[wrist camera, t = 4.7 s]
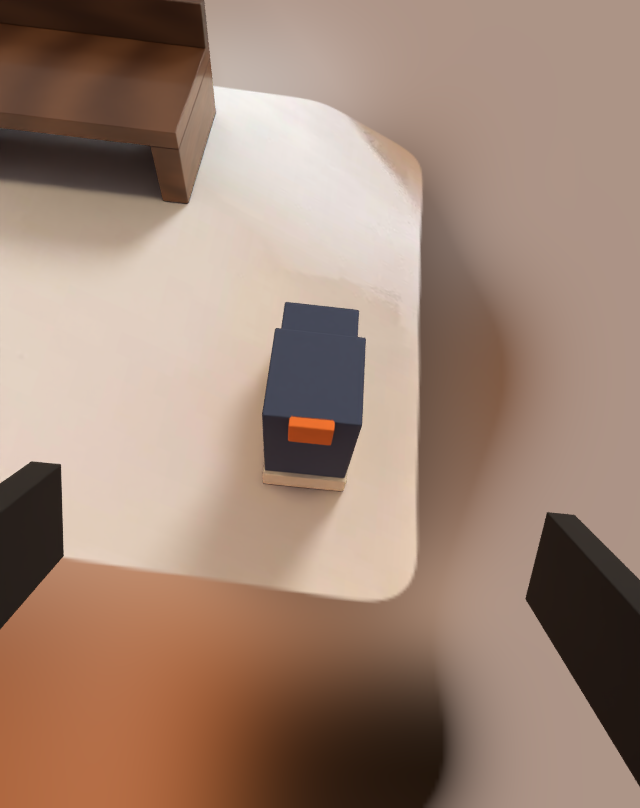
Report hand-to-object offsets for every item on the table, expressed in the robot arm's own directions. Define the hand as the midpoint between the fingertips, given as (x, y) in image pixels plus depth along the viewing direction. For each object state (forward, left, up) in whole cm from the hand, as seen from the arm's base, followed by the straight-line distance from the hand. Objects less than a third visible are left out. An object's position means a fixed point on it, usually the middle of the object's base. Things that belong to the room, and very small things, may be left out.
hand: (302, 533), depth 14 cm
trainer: (0, -11, -14) cm, 18 cm away
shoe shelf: (+21, -34, -14) cm, 43 cm away
